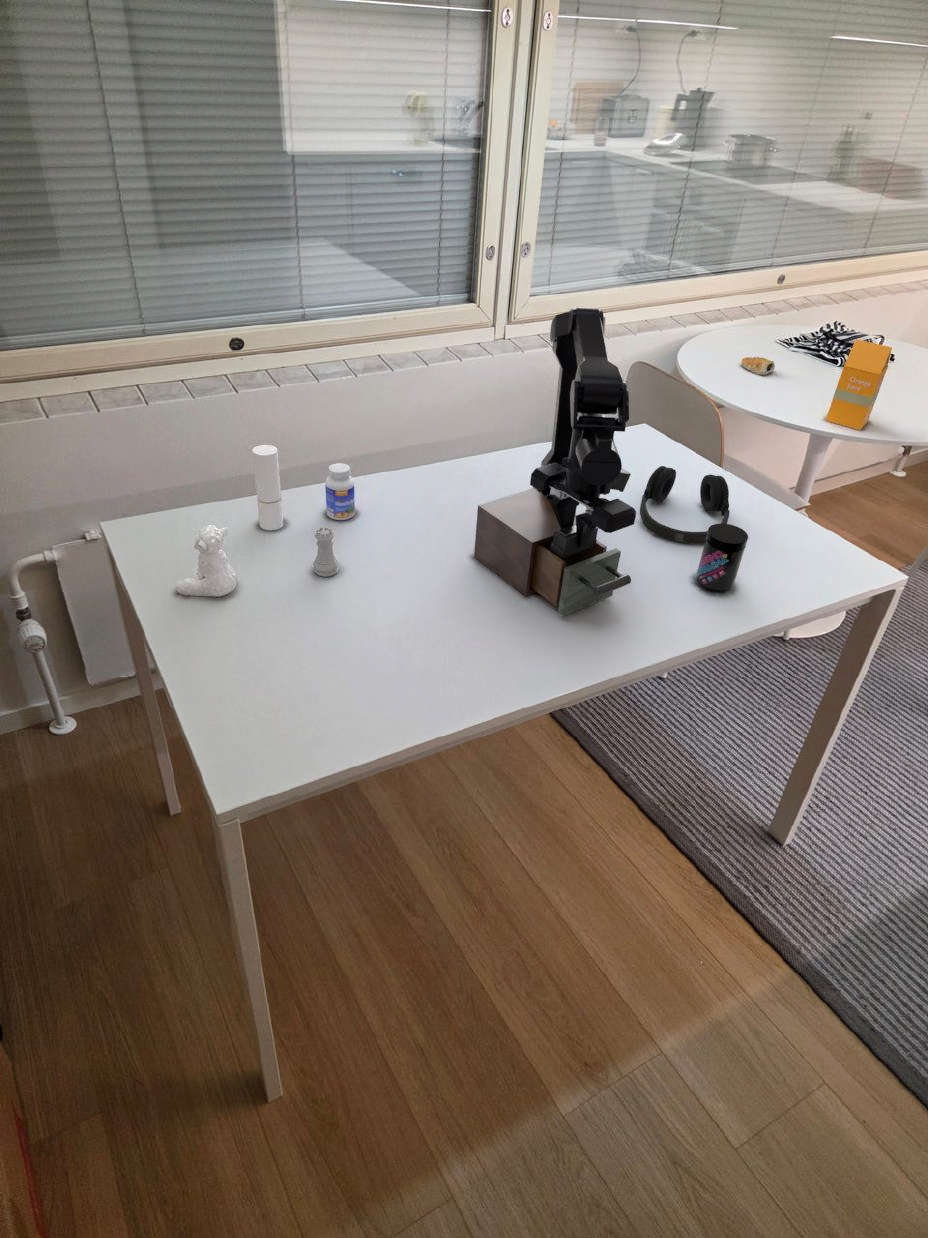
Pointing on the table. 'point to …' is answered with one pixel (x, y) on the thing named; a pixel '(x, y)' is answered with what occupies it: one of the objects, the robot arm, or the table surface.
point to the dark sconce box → (570, 541)
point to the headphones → (711, 498)
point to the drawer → (576, 576)
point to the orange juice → (859, 384)
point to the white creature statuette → (210, 566)
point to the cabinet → (514, 535)
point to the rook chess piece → (325, 554)
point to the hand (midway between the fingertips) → (574, 542)
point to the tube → (268, 487)
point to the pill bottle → (340, 492)
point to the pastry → (758, 365)
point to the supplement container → (721, 557)
